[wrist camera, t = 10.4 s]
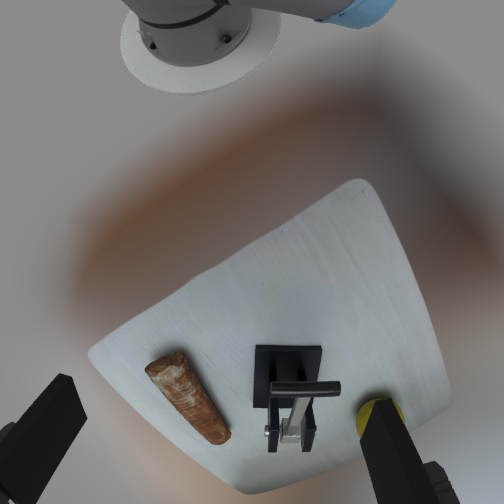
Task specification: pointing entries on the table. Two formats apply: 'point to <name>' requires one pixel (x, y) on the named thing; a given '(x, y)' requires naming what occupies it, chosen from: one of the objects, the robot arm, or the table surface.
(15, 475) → the robot arm
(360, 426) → the lemon
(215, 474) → the table surface
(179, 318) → the table surface
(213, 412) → the bread
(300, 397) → the lever
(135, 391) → the table surface
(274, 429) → the bracket
